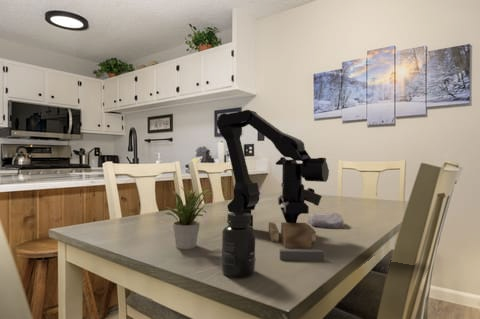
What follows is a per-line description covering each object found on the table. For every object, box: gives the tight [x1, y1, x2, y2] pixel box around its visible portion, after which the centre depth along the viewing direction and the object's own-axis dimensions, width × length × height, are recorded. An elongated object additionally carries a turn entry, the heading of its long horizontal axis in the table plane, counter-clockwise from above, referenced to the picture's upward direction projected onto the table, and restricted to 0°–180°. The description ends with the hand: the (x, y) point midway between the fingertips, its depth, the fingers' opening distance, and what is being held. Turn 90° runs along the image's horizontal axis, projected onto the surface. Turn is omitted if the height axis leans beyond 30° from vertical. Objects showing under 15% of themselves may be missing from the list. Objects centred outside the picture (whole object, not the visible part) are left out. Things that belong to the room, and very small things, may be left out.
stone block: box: [307, 212, 345, 229], centre depth 109 cm, size 12×5×10 cm
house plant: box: [160, 186, 212, 250], centre depth 80 cm, size 14×14×16 cm
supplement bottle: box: [221, 212, 256, 279], centre depth 62 cm, size 7×7×12 cm
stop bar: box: [279, 248, 325, 261], centre depth 71 cm, size 10×2×2 cm, turn 89°
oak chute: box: [267, 221, 317, 243], centre depth 92 cm, size 12×12×3 cm
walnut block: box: [280, 221, 312, 249], centre depth 84 cm, size 7×8×5 cm
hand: (291, 232), depth 90 cm, fingers closed
